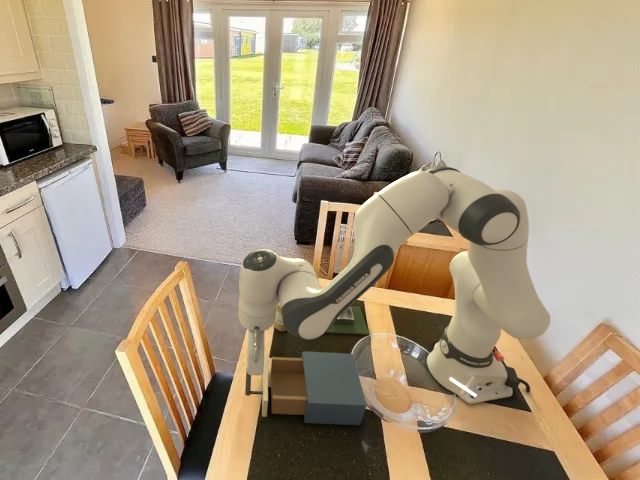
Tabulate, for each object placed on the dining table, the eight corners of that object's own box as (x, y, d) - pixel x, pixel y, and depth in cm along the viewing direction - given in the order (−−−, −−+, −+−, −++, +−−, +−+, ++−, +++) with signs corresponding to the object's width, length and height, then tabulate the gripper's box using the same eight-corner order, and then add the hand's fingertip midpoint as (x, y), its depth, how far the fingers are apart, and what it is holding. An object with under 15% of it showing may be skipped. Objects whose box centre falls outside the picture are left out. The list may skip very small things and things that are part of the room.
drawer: (244, 415, 83) (244, 399, 79) (246, 369, 94) (247, 353, 91) (313, 418, 83) (316, 402, 79) (307, 371, 94) (310, 355, 91)
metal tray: (349, 312, 115) (354, 290, 110) (353, 325, 110) (358, 302, 105) (330, 311, 115) (334, 290, 110) (333, 324, 110) (337, 301, 105)
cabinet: (304, 423, 83) (308, 402, 78) (299, 371, 95) (302, 351, 91) (360, 425, 83) (366, 405, 78) (347, 373, 95) (352, 353, 91)
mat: (359, 307, 118) (359, 306, 118) (369, 335, 107) (369, 333, 107) (317, 305, 118) (317, 304, 118) (322, 333, 107) (322, 331, 107)
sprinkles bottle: (290, 328, 109) (293, 299, 103) (279, 334, 106) (282, 305, 100) (282, 319, 112) (285, 291, 106) (271, 324, 110) (274, 296, 104)
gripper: (271, 352, 65) (267, 392, 71) (269, 281, 83) (267, 318, 89) (241, 350, 65) (240, 390, 71) (246, 280, 83) (244, 317, 89)
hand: (255, 350), depth 80 cm, fingers closed
